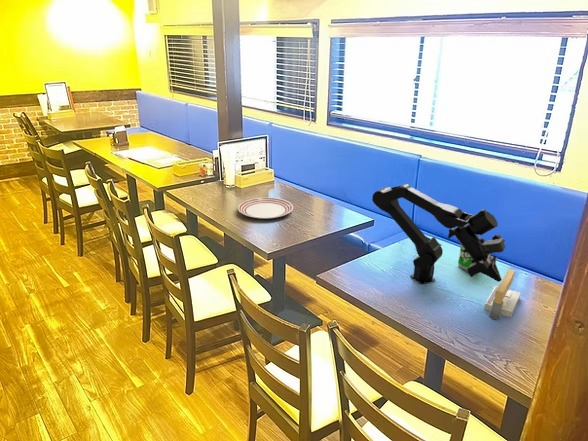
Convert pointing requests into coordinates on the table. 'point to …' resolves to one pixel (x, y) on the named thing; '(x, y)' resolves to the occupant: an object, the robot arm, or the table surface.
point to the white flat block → (504, 302)
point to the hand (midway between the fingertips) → (500, 280)
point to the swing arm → (501, 294)
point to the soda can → (464, 259)
